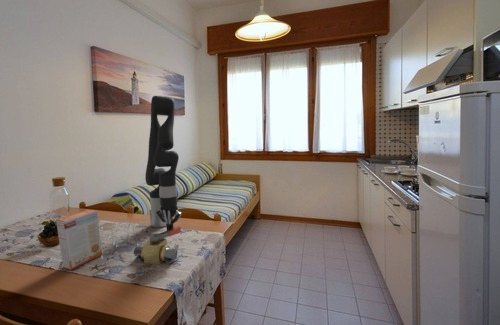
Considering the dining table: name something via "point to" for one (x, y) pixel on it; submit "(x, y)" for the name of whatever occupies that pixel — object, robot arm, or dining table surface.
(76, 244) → the cracker box
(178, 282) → the dining table surface
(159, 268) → the dining table surface
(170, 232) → the lever
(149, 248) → the valve pipe
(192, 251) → the dining table surface
